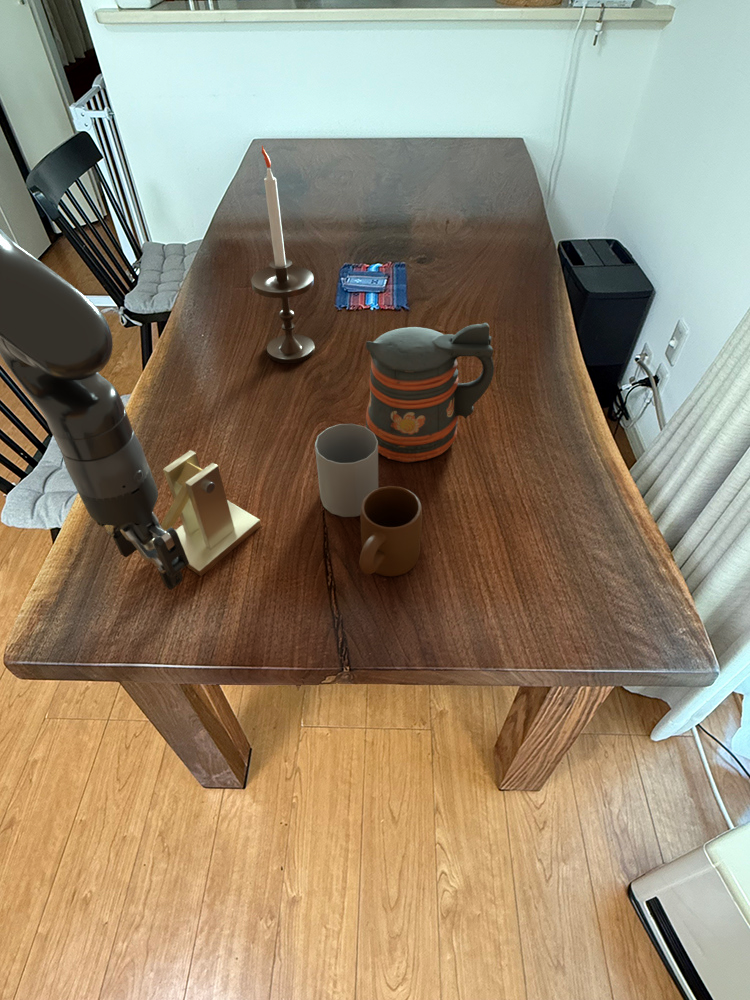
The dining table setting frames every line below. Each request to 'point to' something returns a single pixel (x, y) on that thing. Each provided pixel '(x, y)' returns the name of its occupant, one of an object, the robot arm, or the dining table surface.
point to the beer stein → (423, 388)
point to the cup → (346, 467)
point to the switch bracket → (207, 516)
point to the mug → (390, 531)
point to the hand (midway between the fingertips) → (152, 567)
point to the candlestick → (282, 283)
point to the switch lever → (177, 501)
